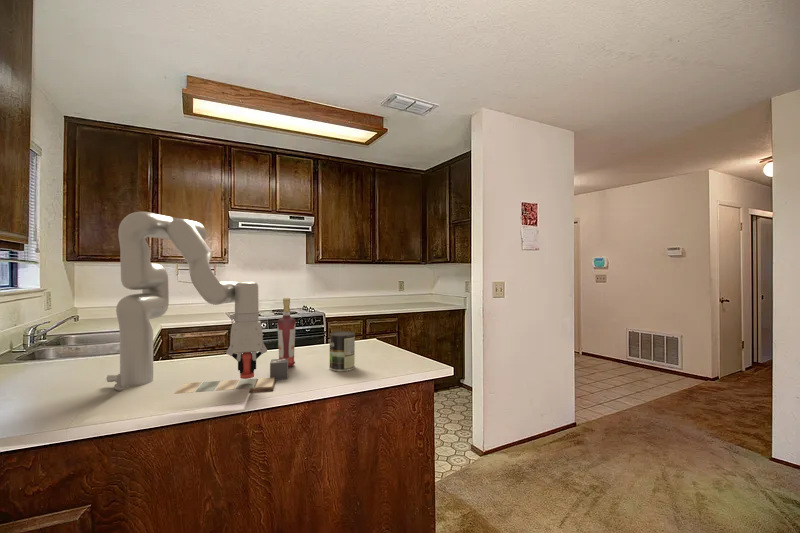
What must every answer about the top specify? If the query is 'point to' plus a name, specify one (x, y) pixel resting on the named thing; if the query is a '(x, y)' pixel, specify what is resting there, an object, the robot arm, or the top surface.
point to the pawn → (246, 366)
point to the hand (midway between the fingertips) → (247, 371)
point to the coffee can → (342, 351)
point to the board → (230, 385)
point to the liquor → (286, 334)
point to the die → (279, 368)
